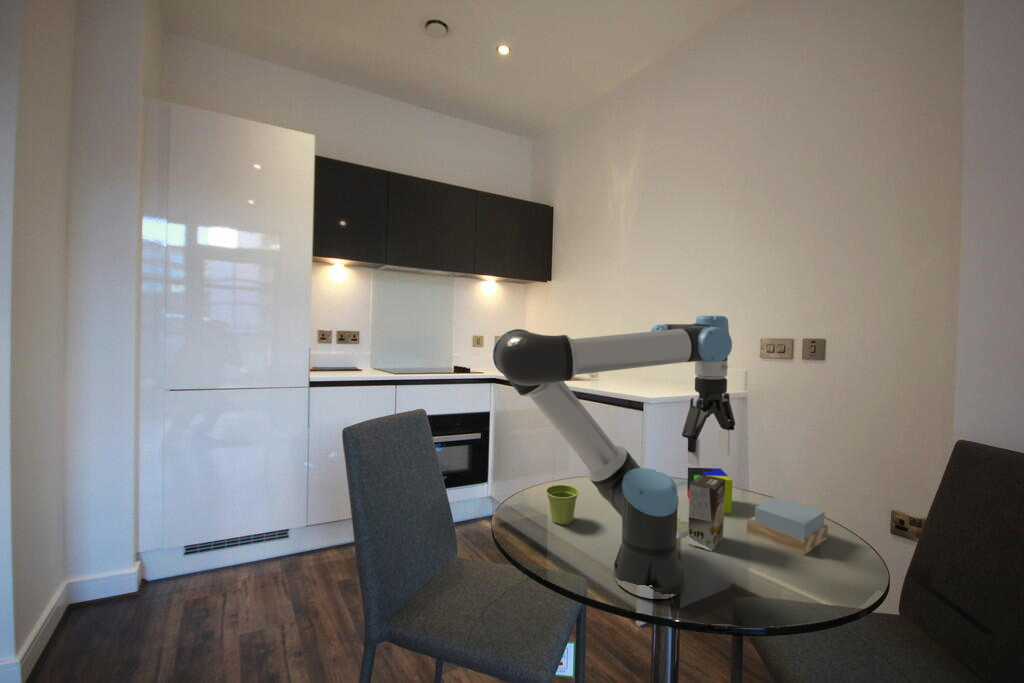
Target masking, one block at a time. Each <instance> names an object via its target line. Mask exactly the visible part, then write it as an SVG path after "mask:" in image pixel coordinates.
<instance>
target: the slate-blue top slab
mask: <svg viewBox="0 0 1024 683" xmlns="http://www.w3.org/2000/svg"><path fill="white" fill-rule="evenodd" d="M825 512H826V511H824V510H821V509H818V508H816V507H811V506H809V505H805V504H802V503H799V502H796V501H792V500H789V499H787V498H784V497H779V496H774V497H773V498H771V499H768V500H767V501H764V502H763V503H761V504H759V505H757V506H754V517H755V522H756V523H759V524H761V525H764V526H767V527H770V528H772V529H775V530H778V531H781V532H783V533H786V534H789V535H791V536H794V537H797V538H800V539H802V540H805V539H806V538H808V537H809V536H810V535H812V534H813V533H815V532H816V531H818V530H819V529H821V528H822V527H824V525H825V515H826V514H825Z"/></svg>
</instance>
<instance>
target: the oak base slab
mask: <svg viewBox="0 0 1024 683" xmlns="http://www.w3.org/2000/svg"><path fill="white" fill-rule="evenodd" d="M746 534H748V535H749V536H750V535H751V536H754V537H756V538H758V539H761V540H763V541H766V542H768V543H770V544H773V545H776V546H778V547H781V548H784V549H786V550H789V551H791V552H794V553H796V554H799V555H802V556H806V554H808V553H809V552H811V551H812V550H813V549H815V548H817V547H818V546H820V544H819V543H821V542H822V541H823V540H824V539H825V538H827V539H828V538H829V536H828V534H829V526H828V525H826V524H824V527H822V528H821V529H819V530H818V531H816V532H815V533H813V534H812V535H810V536H809V537H808V538H806V539H805V540H802V539H800V538H797V537H794V536H791V535H789V534H786V533H783V532H781V531H778V530H775V529H772V528H770V527H767V526H764V525H761V524H759V523H756V522H755V516H753V517H751V518H749V519H748V520H747V521H746ZM822 543H823V542H822ZM822 543H821V544H822ZM817 545H818V546H817Z"/></svg>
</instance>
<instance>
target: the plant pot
mask: <svg viewBox="0 0 1024 683" xmlns="http://www.w3.org/2000/svg"><path fill="white" fill-rule="evenodd" d="M545 493H546V495H547V499H548V505H549V510H550V518H551V522H552V523H554V524H558V525H561V526H562V525H564V526H565V525H569V524H571V523H572V522H574V516H575V509H576V500H577V499H578V496H579V493H580V490H579V489H578V488H576V487H574V486H571V485H567V484H555V485H554V484H553V485H550V486H548V487H547V488H545Z"/></svg>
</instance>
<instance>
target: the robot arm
mask: <svg viewBox="0 0 1024 683" xmlns="http://www.w3.org/2000/svg"><path fill="white" fill-rule="evenodd" d="M729 327H730V326H729V320H728V317H726V316H724V315H698V316H697V317H696V319H695V323H689V324H688V323H687V324H686V323H685V324H684V323H676V324H675V323H674V324H673V323H663V324H655V325H653V326H652V328H651V329H650V331H644V332H643V331H642V332H634V333H633V332H632V333H621V334H612V335H611V334H610V335H603V336H602V335H601V336H590V337H579V338H571V337H570V336H569V335H567V334H561V335H560V334H559V335H544V334H540V333H539V334H538V333H535V332H530V331H528V330H526V329H522V328H521V329H520V328H519V329H518V328H514V329H511V330H509V331H506V332H504V333H503V334H502V335H501V336H499V337H498V339H497V340H496V342H495V344H494V346H493V349H492V360H493V364H494V366H495V368H496V369H497V371H498V372H499V373H501V374H502V375H503V376H504V377H505V379H506V380H508V381H507V382H509V383H510V385H511V386H512V387H513V388H514V389H515V390H516V391H517V393H518V394H519V396H521V397H528V398H530V399H531V400H532V401H533V403H534V404H536V406H537V407H538V408H539V409H540V411H541V412H542V414H543V415H544V416H545V418H547V419H548V421H549V422H550V423H551V425H552V426H553V427H554V428H555V429H556V430H557V432H558V433H559V434H560V435H561V437H563V439H564V440H565V442H567V444H568V445H569V446H570V448H572V450H573V451H574V452H575V454H577V457H579V458H580V459H581V461H582V462H583V463H584V464H585V466H586V467H587V471H586V472H587V473H586V474H587V478H588V479H589V480H590V481H591V483H592V484H593V485H594V486H595V488H596V489H597V491H598V493H599V494H600V495H601V496H602V498H603V499H605V500H606V501H607V503H609V504H610V505H611V507H612V508H614V510H615V511H616V513H617V514H619V515H620V517H621V519H622V520H621V544H620V547H619V549H618V552H617V554H616V557H615V560H614V563H613V574H614V575H613V577H614V576H615V577H616V578H617V579H618V580H620V581H626V582H629V583H633V584H636V585H646V586H649V585H652V586H653V587H650V586H649V587H650V588H651V589H653V590H654V591H655V592H659V593H661V594H663V595H664V594H676V595H677V594H679V593H680V592H681V591H682V590H683V591H684V589H683V588H685V574H684V571H683V568H682V566H681V561H680V558H679V554H678V551H677V550H678V549H677V541H678V540H677V537H678V510H679V509H678V506H679V501H680V500H679V496H678V487H677V484H676V482H675V481H674V479H672V478H671V477H670V476H669V475H667V474H666V473H664V472H662V471H657V470H656V469H651V468H646V467H645V468H644V467H641V466H640V465H639V464H638V462H637V461H636V460H635V459H634V458H633V456H632V455H631V454H630V453H629V452H628V450H627V449H626V448H625V447H624V446H622V445H615V443H614V442H613V441H612V440H611V438H610V437H609V436H608V435H607V434H606V433H605V431H604V430H603V429H602V427H600V425H599V424H598V422H596V420H595V419H594V417H593V415H591V414H590V413H589V411H588V410H587V409H586V408H585V406H584V405H583V403H581V401H580V400H579V399H578V398H577V396H576V395H575V393H574V392H573V391H572V390H571V389H570V388H569V386H568V385H567V384H566V383H565V381H572V380H573V379H574V377H575V376H576V375H585V374H594V373H602V372H611V371H618V370H628V369H639V368H646V367H655V366H657V367H658V366H663V365H665V366H666V365H672V364H674V365H675V364H681V363H682V364H683V363H692V362H695V363H694V374H695V375H696V377H695V378H694V391H695V392H696V393H698V398H695V397H691V398H690V402H689V403H690V404H689V409H688V412H687V415H686V418H685V422H684V426H683V429H682V433H681V436H682V437H683V438H686V439H687V464H690V465H691V466H696V467H699V466H700V461H701V460H700V454H701V450H700V449H701V439H700V438H699V436H700V434H701V432H702V430H703V428H704V426H705V423H706V422H707V419H708V418H709V417H710V416H711V415H712V414H713V415H714V417H715V419H716V421H717V423H718V425H719V426H720V428H718V430H717V432H718V435H717V436H718V437H717V453H718V454H721V455H725V456H730V436H731V431H734V430H735V426H736V420H735V417H734V414H733V408H732V405H731V401H730V400H731V399H730V393H729V392H728V379H727V378H726V377H727V376H728V369H729V365H728V360H729V358H728V357H729V355H730V354H731V352H732V349H733V341H732V338H731V335H730V332H729ZM683 591H682V592H683ZM682 592H681V593H682ZM681 593H680V594H681ZM680 594H679V595H680Z"/></svg>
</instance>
